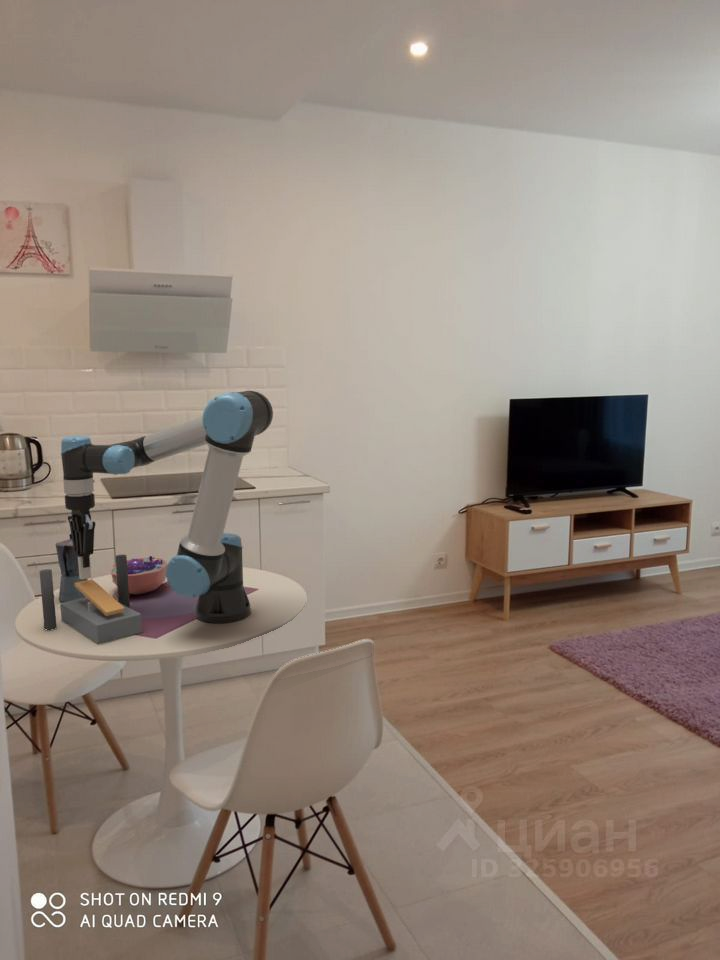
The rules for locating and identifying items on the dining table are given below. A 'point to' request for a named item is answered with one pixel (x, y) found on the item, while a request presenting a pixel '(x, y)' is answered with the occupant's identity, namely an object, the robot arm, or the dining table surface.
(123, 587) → the post
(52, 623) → the post
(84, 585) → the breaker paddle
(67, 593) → the moka pot
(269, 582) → the dining table surface
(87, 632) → the block
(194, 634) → the dining table surface
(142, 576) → the cell model
